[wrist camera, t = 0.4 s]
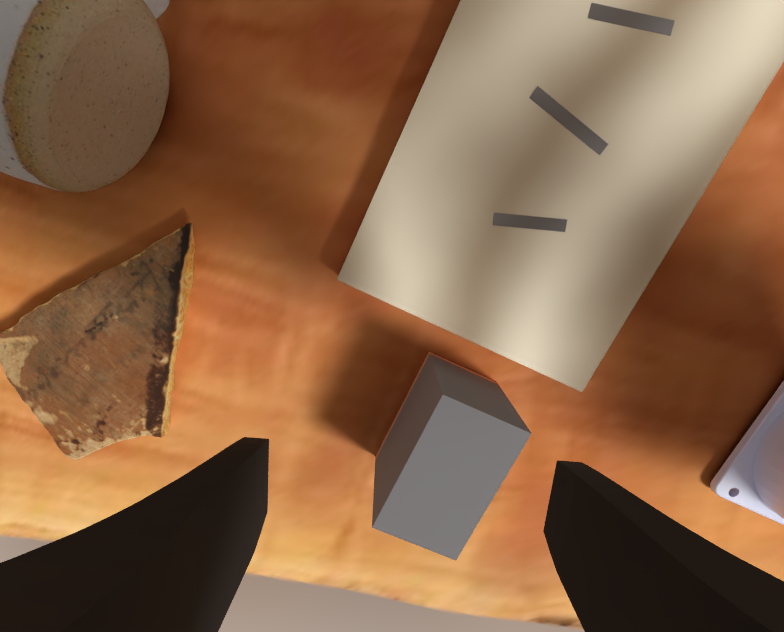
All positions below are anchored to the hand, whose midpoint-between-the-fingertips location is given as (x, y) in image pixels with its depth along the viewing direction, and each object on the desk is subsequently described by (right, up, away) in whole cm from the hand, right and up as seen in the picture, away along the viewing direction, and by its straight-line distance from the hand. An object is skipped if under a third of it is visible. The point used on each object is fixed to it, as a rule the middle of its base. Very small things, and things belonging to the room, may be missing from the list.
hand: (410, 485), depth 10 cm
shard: (-14, +4, +9) cm, 17 cm away
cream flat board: (+6, +11, +7) cm, 15 cm away
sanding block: (+2, -1, +10) cm, 10 cm away
